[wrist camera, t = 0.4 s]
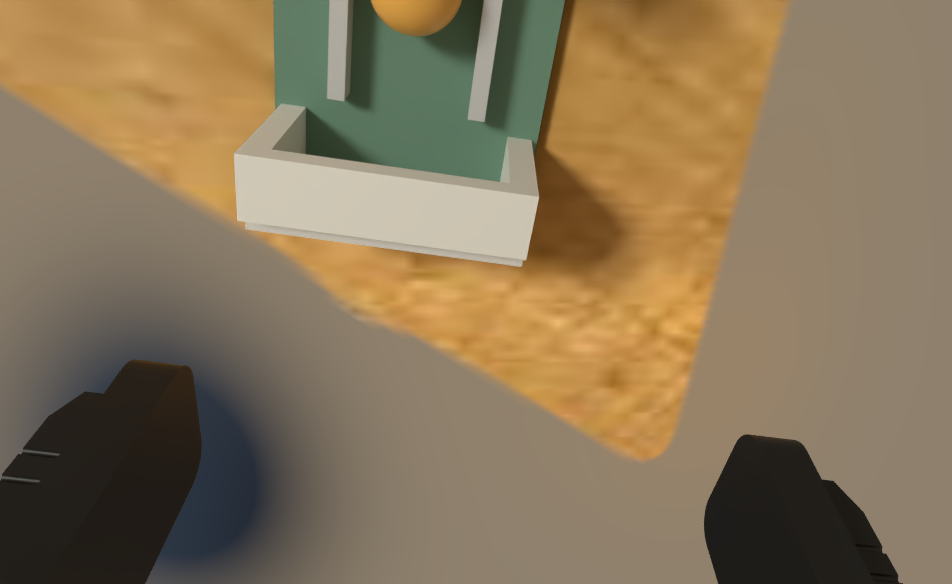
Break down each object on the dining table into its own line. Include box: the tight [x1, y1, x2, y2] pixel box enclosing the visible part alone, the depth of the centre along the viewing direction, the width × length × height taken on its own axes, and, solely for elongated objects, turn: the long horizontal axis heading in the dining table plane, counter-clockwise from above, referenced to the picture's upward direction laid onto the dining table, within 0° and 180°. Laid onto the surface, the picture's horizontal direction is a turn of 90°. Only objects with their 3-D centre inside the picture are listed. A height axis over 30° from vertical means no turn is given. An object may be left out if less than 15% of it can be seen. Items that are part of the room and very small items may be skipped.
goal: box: [234, 103, 539, 267], centre depth 31 cm, size 4×12×7 cm, turn 82°
